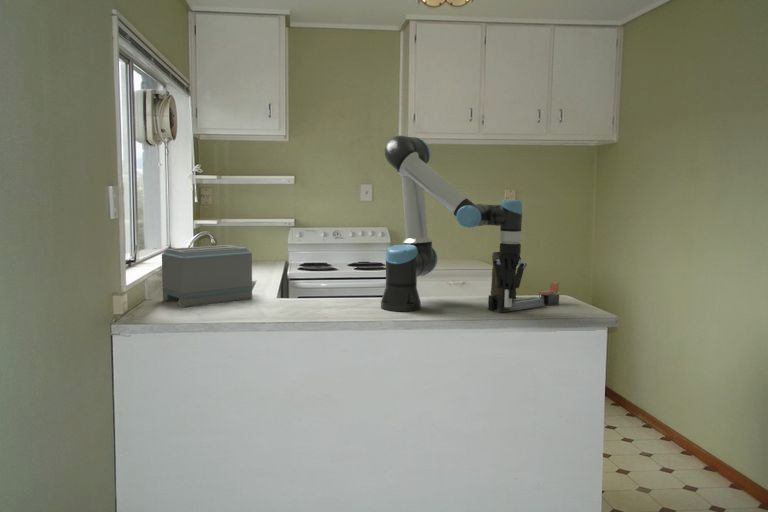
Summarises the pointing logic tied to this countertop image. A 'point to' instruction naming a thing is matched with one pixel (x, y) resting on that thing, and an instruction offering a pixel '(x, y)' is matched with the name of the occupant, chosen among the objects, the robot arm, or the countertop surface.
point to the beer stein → (494, 287)
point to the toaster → (206, 274)
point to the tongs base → (548, 299)
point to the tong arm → (519, 304)
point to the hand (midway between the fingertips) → (507, 306)
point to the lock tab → (551, 288)
